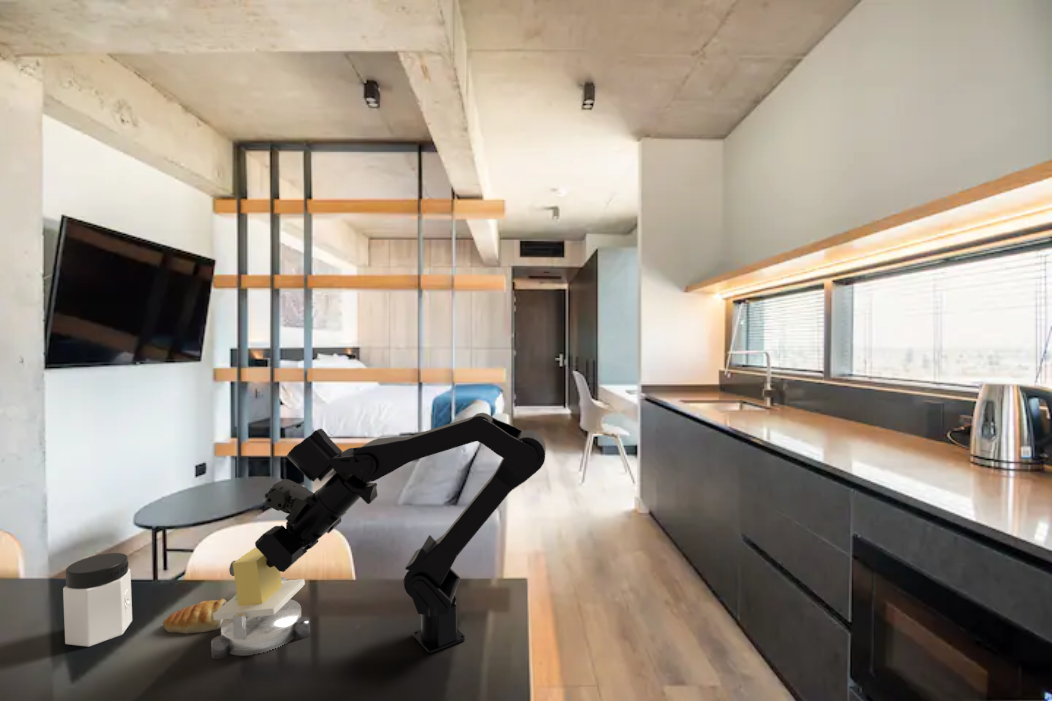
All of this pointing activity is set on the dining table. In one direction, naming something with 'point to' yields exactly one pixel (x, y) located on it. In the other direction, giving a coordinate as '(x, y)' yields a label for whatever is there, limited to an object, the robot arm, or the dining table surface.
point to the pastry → (195, 618)
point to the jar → (97, 599)
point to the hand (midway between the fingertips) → (268, 564)
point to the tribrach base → (260, 631)
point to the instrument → (257, 588)
